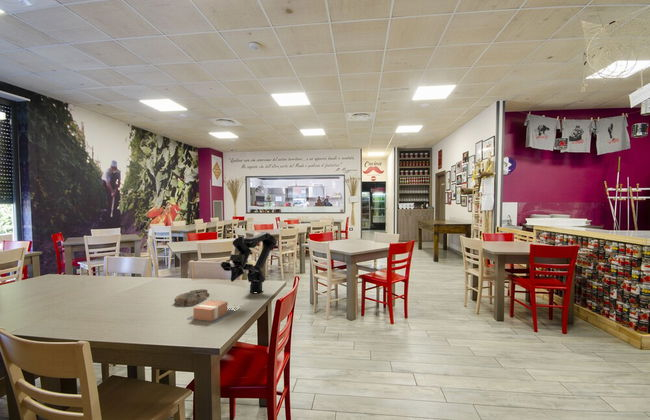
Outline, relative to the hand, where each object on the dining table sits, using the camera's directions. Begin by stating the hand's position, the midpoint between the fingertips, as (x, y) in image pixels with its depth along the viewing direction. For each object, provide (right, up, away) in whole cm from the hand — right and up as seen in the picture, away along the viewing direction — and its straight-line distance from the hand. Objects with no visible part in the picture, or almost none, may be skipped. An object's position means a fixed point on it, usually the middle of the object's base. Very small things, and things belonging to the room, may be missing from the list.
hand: (231, 281), depth 152 cm
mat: (-3, -12, -12) cm, 18 cm away
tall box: (-3, -10, -10) cm, 14 cm away
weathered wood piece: (-23, -13, +8) cm, 28 cm away
